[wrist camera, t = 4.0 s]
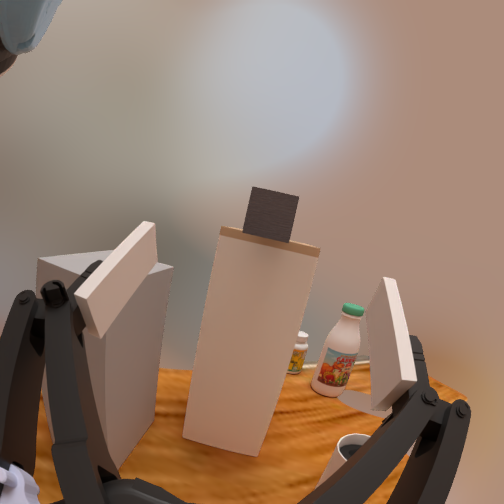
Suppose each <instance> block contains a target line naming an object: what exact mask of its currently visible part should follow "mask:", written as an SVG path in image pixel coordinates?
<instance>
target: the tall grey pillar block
mask: <svg viewBox="0 0 504 504" xmlns="http://www.w3.org/2000/svg"><path fill="white" fill-rule="evenodd" d="M113 251H114V250H109V251H99V252H89V253H80V254H70V255H61V256H52V257H42V258H38V262H37V278H36V298H39V299H43V298H42V296H41V293H40V290H41V288H42V286H43V285H44V284H45V283H47V282H48V281H51V280H60V281H62V282H63V283H64V286H65V289H66V290H67V289H68V288H69V287H70V286H71V284H72V283H73V282H74V281H75V280H76V279H77V278H78V277H79V276H80V275H81V274H82V273H83V272H85V270H86V269H87V267H88V266H89V265H90V264H92V263H94V262H96V261H97V260H102V261H104V260H105V259H106V258H107V257H108V256H109V255H110V254H111V253H112V252H113ZM173 270H174V267H173V266H169V265H165V264H162V263H158V262H157V263H156V264H155V266H154V267H153V268H152V270H151V271H150V272H149V273H148V275H147V276H146V277H145V279H144V280H143V281H142V283H141V284H140V285H139V287H138V288H137V289H136V291H135V292H134V293H133V295H132V296H131V297H130V299H129V300H128V302H127V303H126V304H125V306H124V307H123V308H122V310H121V311H120V313H119V314H118V315H117V317H116V318H115V320H114V321H113V322H112V324H111V325H110V327H109V328H108V330H107V331H106V332H105V334H104V335H103V337H102V338H101V339H100V338H97V337H95V336H93V335H91V334H89V332H88V330H87V327H85V328H84V330H83V331H82V332H83V334H84V341H85V348H86V355H87V362H88V368H89V373H90V379H91V384H92V389H93V394H94V398H95V403H96V407H97V411H98V415H99V419H100V423H101V427H102V431H103V434H104V438H105V441H106V444H107V448H108V451H109V454H110V456H111V458H112V460H113V462H114V464H115V465H116V468H117V470H118V469H119V468H120V466H121V465H122V464H123V462H124V461H125V460H126V458H127V457H128V456H129V454H130V453H131V451H132V450H133V449H134V447H135V446H136V445H137V443H138V442H139V440H140V439H141V438H142V436H143V435H144V434H145V432H146V431H147V429H148V428H149V427H150V425H151V424H152V422H153V421H154V414H155V402H156V391H157V381H158V372H159V363H160V354H161V347H162V339H163V331H164V325H165V318H166V311H167V305H168V299H169V292H170V286H171V281H172V275H173ZM42 394H43V400H44V406H45V411H46V416H47V421H48V425H49V430H50V434H51V438H52V442H53V444H54V443H55V438H54V432H53V427H52V421H51V414H50V407H49V399H48V390H47V379H46V363H45V368H44V374H43V380H42Z"/></svg>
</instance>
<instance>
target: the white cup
mask: <svg viewBox="0 0 504 504" xmlns="http://www.w3.org/2000/svg"><path fill="white" fill-rule="evenodd" d="M370 437H371V436H368V435H365V434H349V435H346V436H344V437H342V438H340V440H339V442H338V444H337V446H336V448H335V450H334V452H333V454H332V456H331V458H330V461H329V463H328V465H327V467H326V469H325V470H324V472H323V474H322V476H321V478H320V480H319V482H318V484H317V486H316V487H315V489H316V488H317V487H319V486H320V485H321V484H322V483H323V482H324V481H326V480H327V479H328V478H329V477H330V476H331V475H332V474H333V473H335V472H336V471H337V470H338V469H339V468H340V467H341V466H342V465H343V464H344V463H345V462H346V461H347V460H348V459H349V458H350V457H351V456H352V455H353V454H354V453H355V452H356V451H357V450H358V449H359V448H360V447H361V446H362V445H363V444H364V443H365V442H366V441H367V440H368V439H369V438H370ZM315 489H314V490H315Z"/></svg>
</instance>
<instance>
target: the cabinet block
mask: <svg viewBox="0 0 504 504" xmlns="http://www.w3.org/2000/svg"><path fill="white" fill-rule="evenodd" d="M242 231H243V230H242V229H238V228H231V227H225V226H221V231H220V235H219V240H218V244H217V249H216V253H215V258H214V263H213V268H212V273H211V278H210V282H209V288H208V292H207V297H206V302H205V307H204V312H203V318H202V323H201V328H200V334H199V339H198V345H197V350H196V356H195V361H194V367H193V373H192V379H191V385H190V391H189V397H188V403H187V409H186V415H185V422H184V429H183V435H182V437H183V438H186V439H189V440H192V441H196V442H199V443H202V444H206V445H209V446H213V447H216V448H220V449H224V450H228V451H232V452H236V453H240V454H245V455H250V456H254V457H258V454H259V451H260V449H261V446H262V443H263V441H264V438H265V435H266V432H267V430H268V427H269V424H270V421H271V418H272V415H273V413H274V410H275V407H276V404H277V401H278V398H279V395H280V392H281V389H282V386H283V383H284V379H285V376H286V373H287V370H288V367H289V363H290V360H291V357H292V354H293V350H294V347H295V344H296V340H297V337H298V333H299V330H300V326H301V322H302V319H303V315H304V312H305V308H306V304H307V301H308V297H309V293H310V289H311V285H312V281H313V277H314V273H315V269H316V265H317V261H318V257H319V253H320V248H317V247H314V246H311V245H308V244H303V243H299V242H295V241H291V240H289V243H285V242H281V241H276V240H272V239H268V238H263V237H259V236H254V235H250V234H246V233H242Z"/></svg>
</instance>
